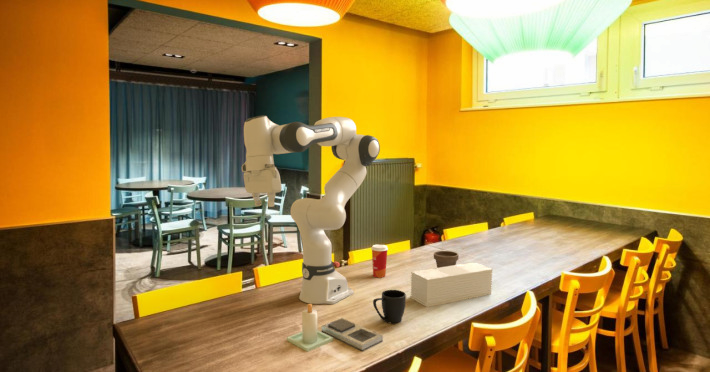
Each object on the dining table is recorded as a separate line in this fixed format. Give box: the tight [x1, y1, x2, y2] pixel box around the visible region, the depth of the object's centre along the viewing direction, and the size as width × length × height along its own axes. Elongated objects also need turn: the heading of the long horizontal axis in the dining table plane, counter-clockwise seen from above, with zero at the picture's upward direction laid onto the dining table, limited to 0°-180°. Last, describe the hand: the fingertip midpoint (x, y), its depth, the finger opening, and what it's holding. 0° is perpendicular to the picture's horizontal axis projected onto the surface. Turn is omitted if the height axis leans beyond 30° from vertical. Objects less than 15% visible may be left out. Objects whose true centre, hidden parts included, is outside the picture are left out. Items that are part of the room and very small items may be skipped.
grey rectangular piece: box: [321, 317, 384, 352], centre depth 133 cm, size 9×18×3 cm, turn 45°
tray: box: [286, 329, 334, 353], centre depth 130 cm, size 10×10×2 cm
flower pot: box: [433, 250, 459, 268], centre depth 197 cm, size 12×11×10 cm
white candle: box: [301, 303, 318, 344], centre depth 129 cm, size 5×5×11 cm
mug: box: [372, 289, 407, 325], centre depth 145 cm, size 8×12×10 cm
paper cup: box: [370, 244, 389, 279], centre depth 194 cm, size 8×8×14 cm
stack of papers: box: [410, 262, 493, 308], centre depth 170 cm, size 32×11×11 cm, turn 116°
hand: (264, 206), depth 142 cm, fingers open, 8 cm apart
